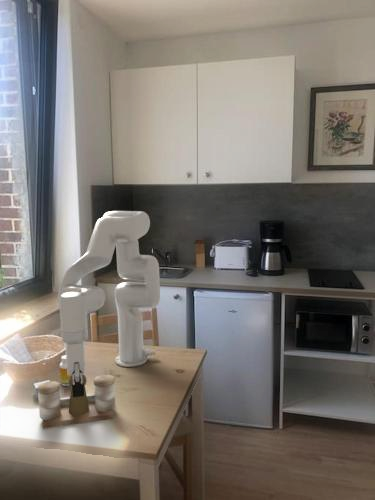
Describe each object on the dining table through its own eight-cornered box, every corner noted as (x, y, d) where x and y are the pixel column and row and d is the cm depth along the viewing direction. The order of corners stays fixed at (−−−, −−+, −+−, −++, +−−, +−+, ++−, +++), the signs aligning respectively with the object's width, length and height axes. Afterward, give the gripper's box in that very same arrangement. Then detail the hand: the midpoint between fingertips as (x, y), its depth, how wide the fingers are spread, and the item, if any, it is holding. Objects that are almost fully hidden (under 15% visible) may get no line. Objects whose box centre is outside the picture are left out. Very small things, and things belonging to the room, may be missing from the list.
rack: (113, 401, 137) (112, 370, 135) (117, 417, 127) (116, 384, 126) (40, 411, 131) (38, 379, 130) (38, 429, 122) (36, 394, 120)
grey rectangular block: (49, 391, 145) (49, 380, 144) (52, 396, 141) (51, 384, 141) (34, 394, 142) (33, 383, 142) (36, 399, 139) (36, 388, 138)
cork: (77, 403, 133) (75, 369, 131) (93, 407, 131) (91, 373, 129) (64, 412, 128) (62, 377, 126) (80, 417, 125) (78, 381, 123)
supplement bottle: (72, 387, 147) (70, 360, 146) (57, 385, 148) (56, 359, 147) (79, 380, 153) (77, 354, 151) (65, 378, 154) (63, 353, 152)
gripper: (62, 325, 133) (65, 377, 136) (60, 346, 116) (65, 404, 119) (86, 323, 135) (89, 374, 137) (89, 343, 118) (92, 400, 121)
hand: (78, 388), depth 128 cm, fingers open, 9 cm apart
